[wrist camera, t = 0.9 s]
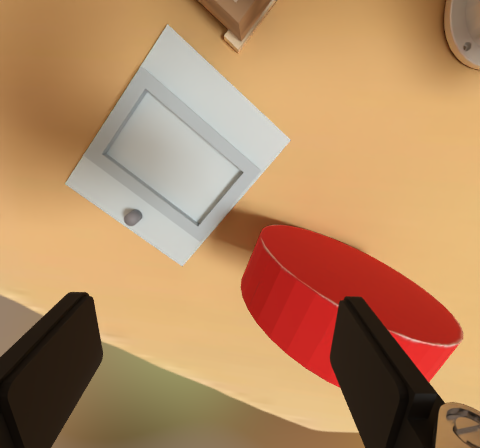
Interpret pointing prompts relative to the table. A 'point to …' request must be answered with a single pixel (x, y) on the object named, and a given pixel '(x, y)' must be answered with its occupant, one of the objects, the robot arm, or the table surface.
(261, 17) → the prop batten
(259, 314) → the toy clock
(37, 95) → the table surface
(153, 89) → the white cabinet door
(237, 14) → the frame
